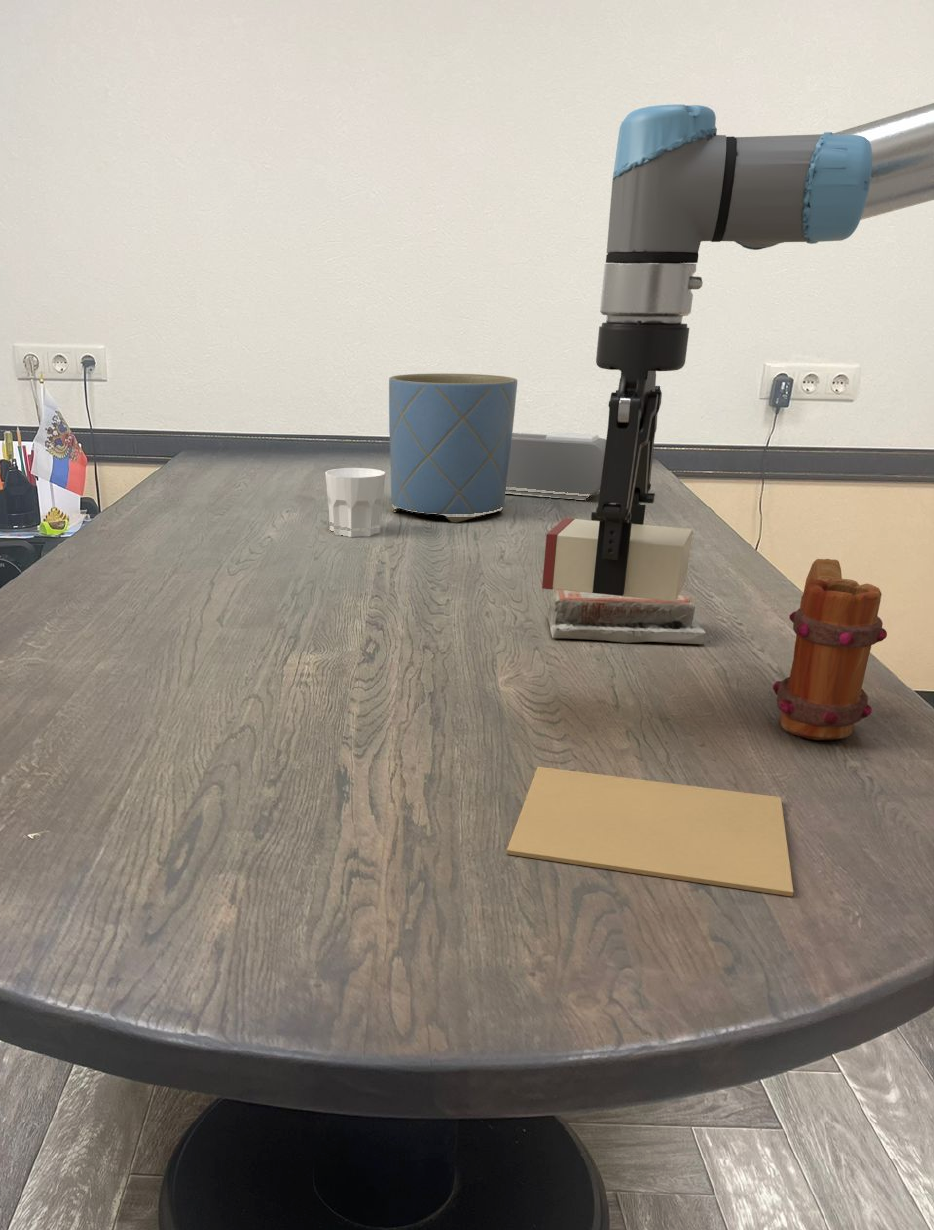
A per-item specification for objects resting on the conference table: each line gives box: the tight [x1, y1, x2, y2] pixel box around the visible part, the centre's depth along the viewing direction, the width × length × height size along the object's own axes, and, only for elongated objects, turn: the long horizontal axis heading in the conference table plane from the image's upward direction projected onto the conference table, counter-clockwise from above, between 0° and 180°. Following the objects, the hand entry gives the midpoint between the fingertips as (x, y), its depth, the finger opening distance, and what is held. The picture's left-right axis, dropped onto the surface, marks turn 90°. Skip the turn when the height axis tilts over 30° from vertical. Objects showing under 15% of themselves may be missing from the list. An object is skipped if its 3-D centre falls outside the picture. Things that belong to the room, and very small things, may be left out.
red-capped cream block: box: [541, 517, 694, 602], centre depth 100 cm, size 8×12×5 cm
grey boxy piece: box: [547, 589, 707, 645], centre depth 131 cm, size 18×5×10 cm
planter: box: [388, 373, 518, 523], centre depth 196 cm, size 23×23×24 cm
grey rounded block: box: [505, 431, 606, 501], centre depth 217 cm, size 27×9×12 cm, turn 66°
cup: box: [324, 467, 386, 538], centre depth 182 cm, size 10×10×10 cm
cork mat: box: [506, 766, 794, 898], centre depth 84 cm, size 20×16×1 cm
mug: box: [772, 558, 888, 741], centre depth 102 cm, size 15×8×15 cm, turn 170°
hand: (615, 582), depth 101 cm, fingers closed on red-capped cream block, 8 cm apart
